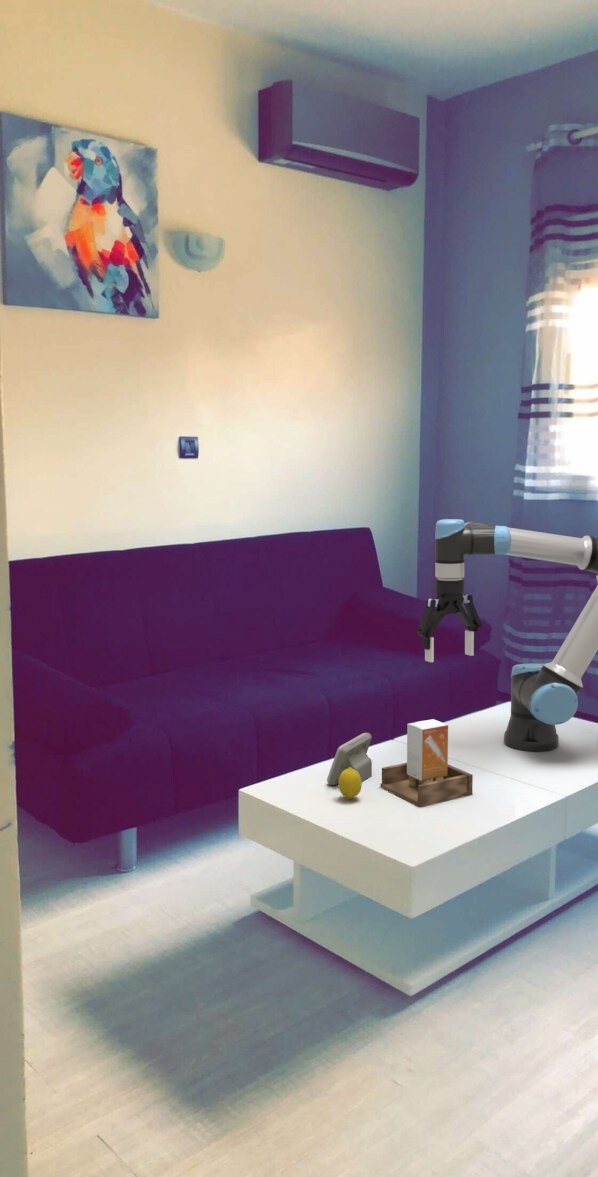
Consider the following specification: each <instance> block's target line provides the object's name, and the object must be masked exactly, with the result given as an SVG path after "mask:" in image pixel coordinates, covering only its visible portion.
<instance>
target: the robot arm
mask: <svg viewBox="0 0 598 1177" xmlns="http://www.w3.org/2000/svg"><path fill="white" fill-rule="evenodd" d="M434 531H435V534H434V541H435V544H434V545H435V549H434V550H435V553H434V554H435V556H434V557H435V562H434V563H435V564H434V565H435V568H434V569H435V570H434V572H435V573H434V574H435V578H436V579H435V582H434V583H435V584H434V591H435V595H436V598H435V599H432V598H427V599H426V600H425V601H426V603H425V608H424V611H423V614H422V616H421V619H420V621H419V623H418V626H417V629H416V632H415V633H416V634H417V635H418V636H420V637H422V647H423V649H424V661H425V662H428V663H434V661H435V660H434V659H435V654H434V653H435V648H434V647H435V645H434V644H435V642H434V640H435V638H434V636H432V635H433V634H434V633H435V631H436V629H437V628H438V626H439V625H440V623H441V621H442V619H443V618H444V617H446V616H449V615H452V614H453V615H454V614H456V615H457V617H458V618H459V619H460V620H461V622H462V624H464V626H465V627H466V629H465V630H464V655H467V656H471V657H472V656H475V654H474V653H475V652H474V651H475V649H474V648H475V644H474V643H475V642H476V632H479V629H482V626H483V624H482V622H481V619H480V616H479V615H478V612H477V610H476V607H475V604H474V597H473V595H472V594H467V593H465V580H464V578H465V557H466V556H498V555H506V556H512V557H518V558H519V557H520V558H526V559H533V560H539V561H545V562H550V563H551V562H553V563H558V564H566V565H572V566H577V568H578V569H579V570H582V571H589V572H591V573H595V574H596V576H595V577H596V581H597V583H598V536H594V535H593V536H592V535H584V536H583V537H577V536H576V537H574V536H569V535H563V534H562V535H561V534H556V533H555V534H553V533H549V532H542V531H541V532H540V531H536V530H535V531H534V530H529V529H528V530H527V529H521V528H514V527H508V526H506V525H494V524H493V525H492V524H488V523H487V524H486V523H481V522H477V521H468V522H465V520H464V519H460V518H459V519H457V518H453V519H452V518H450V519H449V518H447V519H446V518H444V519H439V520H437V521H436V523H435V530H434ZM463 604H464V606H463ZM597 652H598V584H597V585H596V588H594V590H593V592H592V593H591V596H590V597H589V599H588V601H587V602H586V604H585V606H584V607H583V609H582V611H580V614H579V616H578V617H577V619H576V621H575V622H574V624H573V626H572V628H571V629H570V631H569V633H568V634H567V636H566V638H565V639H564V641H563V643H562V645H561V647H559V649H558V651H557V653H556V655H555V656H554V657H553V660H552V661H551V662H547V663H518V664H514V665H513V666H512V667H511V674H510V678H511V681H510V682H511V684H510V687H511V688H510V718H509V721H508V723H507V728H506V730H505V731H504V733H503V734H504V735H503V743H504V745H506V746H508V747H509V748H513V749H516V750H520V751H526V752H545V751H551V750H554V749H557V748H558V747H559V744H560V742H559V740H560V739H559V735H558V734H557V728H556V726H557V725H562V724H564V723H567V722H568V721H570V720H571V719H572V718H573V717H574V716H575V714H576V713H577V710H578V705H579V700H578V695H579V694H580V692H581V690H582V689H583V687H584V684H583V682H582V677H583V675H584V674H585V672H586V670H587V669H588V667H589V666H590V664H591V662H592V660H593V659H594V658H595V655H596V654H597Z"/></svg>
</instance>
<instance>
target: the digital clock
mask: <svg viewBox="0 0 598 1177" xmlns="http://www.w3.org/2000/svg"><path fill="white" fill-rule="evenodd" d="M371 741H372V734H371V733H369V732H363V733H361V734H359V735H357V736H355V737H354V738H352V739H351V740H348V741H347V742H345V743H343V744H341V745H340V746H339V747H338V748H337V750H336V752H335V755H334V757H333V762H332V763H331V767H330V770H329V772H328V775H327V779H326V781H327V784H328V785H329V786H336V785H339V777H340V774H341V773H342V772H343V771H344V770H345V769H348V768H349V767H351V768H352V769H354V770H356V771H357V772H358V773H359V774H360V777H361V783H363V782H364V781H365V780H367V779H369V778H371V777H372V776H373V771H372V770H373V762H372V759H371V758H370V757H369V756H368V754H367V752H368V750H369V747H370V745H371Z"/></svg>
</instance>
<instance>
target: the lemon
mask: <svg viewBox="0 0 598 1177" xmlns="http://www.w3.org/2000/svg"><path fill="white" fill-rule="evenodd" d="M362 783H363V782H361V777H360V774H359V773H358V772H357V771H356V770H354V769H352V768H351V767H349V768H348V769H345V770H344V771H343V772H342V773H341V774H340V777H339V783H338V789H339V791H340V794H342V796H343V797H345V798H347V799H348V800H349V799H351V800H352V799H353V798H355V797H357V796H358V795H359V794H360V792H361V790H362Z"/></svg>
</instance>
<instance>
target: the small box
mask: <svg viewBox="0 0 598 1177" xmlns="http://www.w3.org/2000/svg"><path fill="white" fill-rule="evenodd" d="M406 726H407V730H406V731H407V736H406V739H407V740H406V763H407V774H408V775H410V776H412V777H414V778H416V779H419V780H421V781H424V780H428V779H432V778H437V777H442V776H447V767H448V765H449V764H448V762H449V761H448V759H449V758H448V756H449V755H448V754H449V751H448V750H449V724H447V723H444V722H442V721H439V720H436V719H434V718H432V719H427V720H420V721H415V722H410V723H407V725H406Z"/></svg>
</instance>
